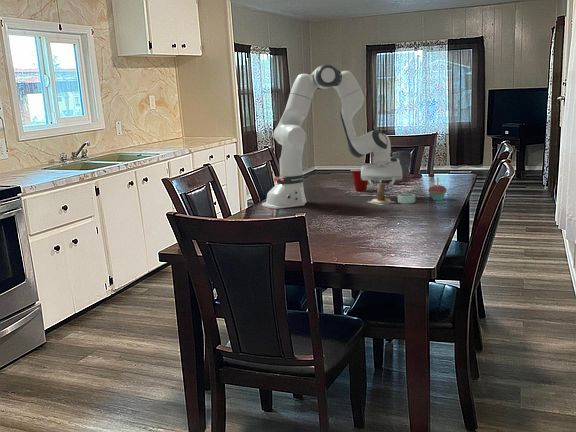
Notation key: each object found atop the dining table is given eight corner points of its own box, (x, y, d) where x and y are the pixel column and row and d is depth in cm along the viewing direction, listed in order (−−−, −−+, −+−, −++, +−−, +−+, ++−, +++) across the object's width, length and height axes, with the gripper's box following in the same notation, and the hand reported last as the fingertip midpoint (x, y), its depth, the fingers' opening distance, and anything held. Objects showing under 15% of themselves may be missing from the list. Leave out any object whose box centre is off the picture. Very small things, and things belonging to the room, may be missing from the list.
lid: (380, 204, 271) (380, 186, 269) (367, 201, 278) (367, 184, 276) (394, 201, 276) (394, 183, 274) (381, 199, 283) (381, 181, 281)
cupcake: (447, 201, 273) (447, 176, 271) (428, 201, 275) (429, 176, 272) (445, 197, 282) (446, 173, 279) (428, 197, 283) (428, 173, 281)
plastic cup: (370, 188, 314) (370, 166, 312) (371, 192, 304) (371, 169, 301) (350, 188, 315) (350, 167, 313) (350, 192, 305) (350, 170, 302)
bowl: (406, 204, 270) (406, 197, 269) (394, 202, 276) (394, 195, 276) (418, 202, 274) (418, 195, 273) (406, 199, 281) (406, 192, 280)
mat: (380, 205, 270) (380, 204, 270) (366, 202, 278) (366, 201, 278) (395, 202, 276) (395, 201, 275) (381, 199, 284) (381, 198, 284)
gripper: (360, 159, 284) (359, 182, 277) (402, 158, 280) (402, 182, 273) (361, 167, 289) (360, 190, 282) (402, 166, 285) (402, 189, 278)
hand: (381, 186), depth 277 cm, fingers open, 8 cm apart
